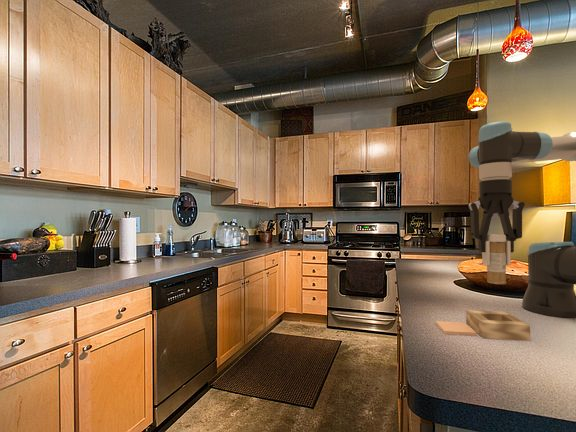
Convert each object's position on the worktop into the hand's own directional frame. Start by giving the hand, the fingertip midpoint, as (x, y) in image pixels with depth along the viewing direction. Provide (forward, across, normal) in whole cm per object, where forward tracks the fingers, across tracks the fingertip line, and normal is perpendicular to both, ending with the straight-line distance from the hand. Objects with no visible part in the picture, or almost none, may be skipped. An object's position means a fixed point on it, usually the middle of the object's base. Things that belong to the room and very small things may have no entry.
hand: (496, 264), depth 85 cm
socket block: (+19, 0, 0) cm, 19 cm away
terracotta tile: (+19, +11, 0) cm, 21 cm away
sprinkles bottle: (+5, 0, 0) cm, 5 cm away
